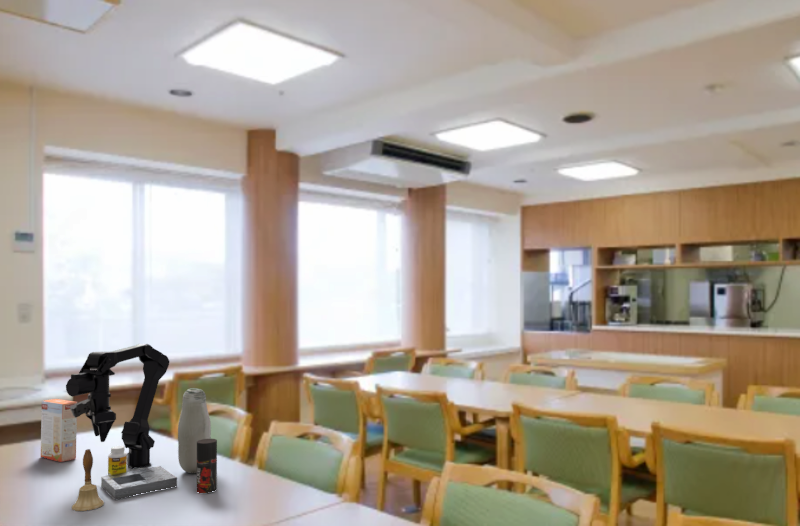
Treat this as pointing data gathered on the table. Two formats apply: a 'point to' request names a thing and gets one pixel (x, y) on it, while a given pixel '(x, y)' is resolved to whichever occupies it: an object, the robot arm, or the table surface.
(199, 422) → the gray bottle
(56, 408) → the cracker box
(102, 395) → the robot arm
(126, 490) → the jig block
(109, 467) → the supplement bottle
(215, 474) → the deodorant
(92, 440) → the table surface
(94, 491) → the hand bell
